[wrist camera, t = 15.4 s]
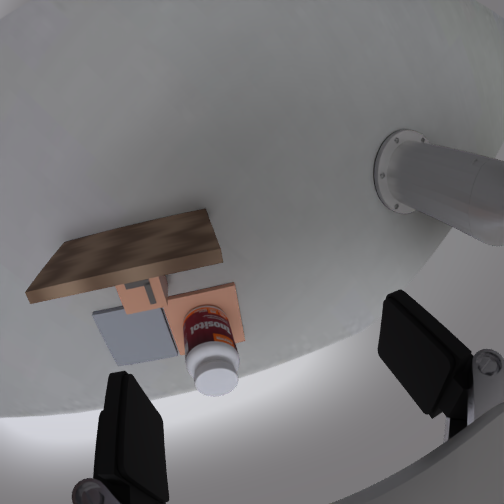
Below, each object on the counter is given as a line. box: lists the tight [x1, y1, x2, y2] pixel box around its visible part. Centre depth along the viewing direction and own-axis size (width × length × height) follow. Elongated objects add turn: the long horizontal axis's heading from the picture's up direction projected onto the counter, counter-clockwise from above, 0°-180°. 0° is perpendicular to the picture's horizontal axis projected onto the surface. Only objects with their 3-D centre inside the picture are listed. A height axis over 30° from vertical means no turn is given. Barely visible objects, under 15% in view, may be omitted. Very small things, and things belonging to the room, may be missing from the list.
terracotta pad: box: [163, 282, 245, 355], centre depth 39 cm, size 10×10×1 cm
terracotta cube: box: [116, 275, 168, 315], centre depth 32 cm, size 5×5×5 cm
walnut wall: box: [25, 209, 223, 304], centre depth 27 cm, size 18×1×12 cm, turn 98°
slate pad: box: [92, 306, 178, 366], centre depth 37 cm, size 10×10×1 cm
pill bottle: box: [183, 306, 240, 396], centre depth 34 cm, size 6×6×11 cm
